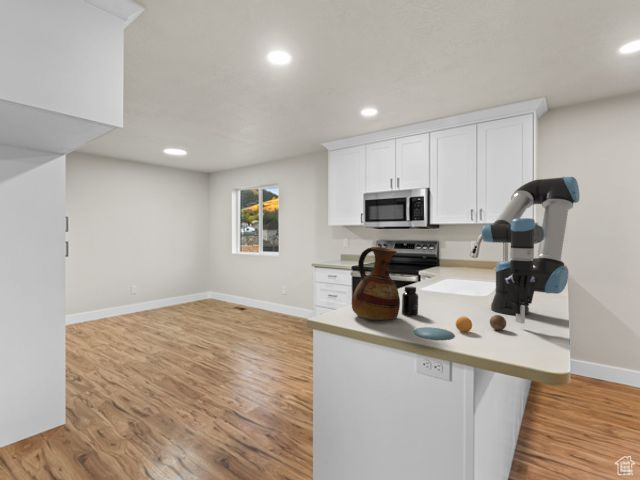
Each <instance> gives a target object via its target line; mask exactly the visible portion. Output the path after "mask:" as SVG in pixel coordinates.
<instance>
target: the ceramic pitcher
mask: <svg viewBox="0 0 640 480" xmlns="http://www.w3.org/2000/svg"><path fill="white" fill-rule="evenodd" d="M370 253H373V254H374V267H373V269H372V270H371V273H370V274H366V272H365V264H364V263H365V259H366V257H367V256H368V254H370ZM396 253H398V251H397V250H395V249H390V248H387V247H380V246H377V247H376V246H374V245H373V246H371V247H367V248H366V249H365V250H363V251H362V253H360V256H359V258H358V262H357V263H358V265H357V266H358V270H359V275H360V282H358V284H357V285H356V288H355V290H354V292H353V294H352V299H351V309H352V311H353V313H354V314H355V315H356V316H358V317H360V318H362V319H365V320H372V321H387V320H392V319H396V318H397V317H398V315H399V314H400V313H399V312H400V307H401V306H400V305H401V298H400V293H399V290H398V287H397V285H396V283H395V281H394V280H393V279H392V278H391V277H390V271H389V270H390V269H389V268H390V265H391V259H392V257H393V256H395V254H396Z"/></svg>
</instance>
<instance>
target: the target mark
mask: <svg viewBox="0 0 640 480" xmlns="http://www.w3.org/2000/svg"><path fill="white" fill-rule="evenodd" d="M412 332H413V333H412V334H414V335H415V336H417V337H419V338H423V339H427V340H434V341H444V340H445V341H447V339H448V340H451V338H452V339H454V338H455V334H454V332H452V331H450V330H447V329H443V328H439V327H429V326H428V327H426V326H425V327H417V328H415V329H413V330H412ZM453 337H454V338H453Z"/></svg>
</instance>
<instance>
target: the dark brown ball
mask: <svg viewBox="0 0 640 480" xmlns="http://www.w3.org/2000/svg"><path fill="white" fill-rule="evenodd" d="M489 325H490V327H491V328H492V329H493V330H496V331H502V330H504V329H505V328H506V327H507V320H506V318H504V317H503V315H500V314H495V315H493V316H491V317H490V319H489Z"/></svg>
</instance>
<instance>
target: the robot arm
mask: <svg viewBox="0 0 640 480" xmlns="http://www.w3.org/2000/svg"><path fill="white" fill-rule="evenodd" d="M579 202H580V189H579V184H578V180H577V179H576V178H575V177H574V176H562V177H554V178H544V179H543V178H542V179H534V180H531V181H529V182H527V183H524V184H523V185H521V186H519V188H516V189H515V191H514V192H513V193H512V195H511V197H510V201H509V202H508V203H507V205H506V206H505V208H504V209H503V210H502V212H501V213H500V215H499V216H498V217H497V218H496V220H495V221H494V222H493V223H492V224H484V225H483V227H482V229H481V238H482V240H483V242H486V243H499V244H500V243H503V244H504V243H506V244H510V250H509V251H510V253H509V254H510V256H509V258H510V259H511V260H505V261H499V262H497V263H496V267H495V293H494V296H493V299H492V302H491V305H490V310H491V311H493V312H495V313H500V314H505V315H512V316H515V322H516V323H519V324H525V321H526V315H528V314H529V313H530V305H531V304H532V302H533V298H534V294H535V293H536V292H537V293H545V294H557V295H558V294H561V293H562V292H563V291H564V290H565V288H566V286H567V284H568V280H569V268H568V267H567V266H565V262H564V261H563V260H562V254H563V253H562V252H563V247H564V239H565V233H566V227H567V226H566V225H567V221H568V220H567V219H568V214H569V213H568V212H569V211H570V210H571V209H573V208H574V204H576V203H579ZM533 205H534V206H535V205H541V206H542V208H544V211H543V212H544V213H543V220H542V225H539V224H536V223H535V219H534V218H531V217H530V218H528V217H525V218H524V217H523V218H522V216H523V215H524V213H525V212H526V210H527V209H529V208H531V206H533ZM536 244H538V249H537V254H536V255H537V256H535V245H536ZM534 256H535V257H534Z"/></svg>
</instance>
